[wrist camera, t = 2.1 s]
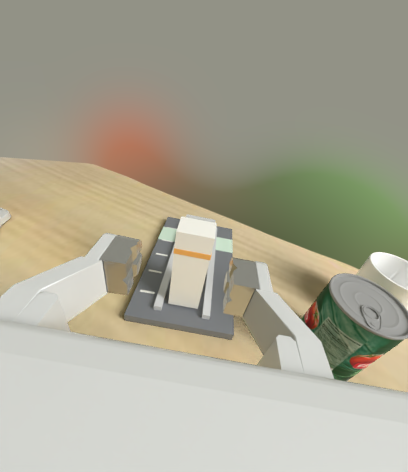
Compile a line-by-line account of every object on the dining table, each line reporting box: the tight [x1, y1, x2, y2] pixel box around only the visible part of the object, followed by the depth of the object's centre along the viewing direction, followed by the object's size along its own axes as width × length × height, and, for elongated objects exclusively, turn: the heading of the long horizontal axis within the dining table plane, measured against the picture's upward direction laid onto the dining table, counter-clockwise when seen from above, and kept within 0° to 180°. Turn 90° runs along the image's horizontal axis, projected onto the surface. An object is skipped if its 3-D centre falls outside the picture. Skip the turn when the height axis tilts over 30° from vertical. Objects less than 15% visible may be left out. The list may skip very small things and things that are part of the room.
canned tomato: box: [301, 273, 408, 381], centre depth 26 cm, size 8×8×11 cm
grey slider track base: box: [124, 215, 234, 340], centre depth 37 cm, size 14×24×3 cm, turn 174°
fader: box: [168, 217, 216, 309], centre depth 27 cm, size 4×3×12 cm
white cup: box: [356, 252, 408, 310], centre depth 32 cm, size 8×8×10 cm
